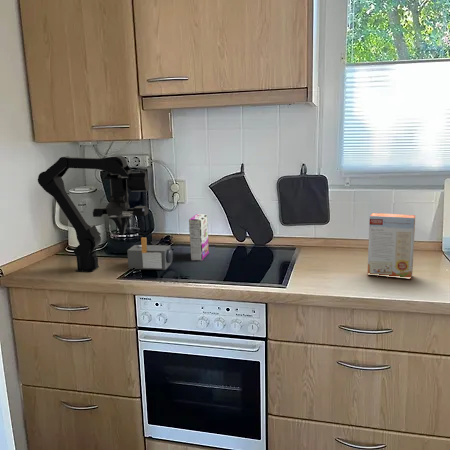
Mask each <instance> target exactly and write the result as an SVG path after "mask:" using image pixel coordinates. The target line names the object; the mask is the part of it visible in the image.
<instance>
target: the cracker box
mask: <svg viewBox="0 0 450 450" xmlns="http://www.w3.org/2000/svg"><path fill="white" fill-rule="evenodd" d="M415 226H416V215H415V214H401V213H399V214H398V213H380V212H379V213H376V212H375V213H373V212H372V213H371V214H370V215H369V225H368V249H367V274H368V273H370V274H379V275H389V276H400V277H412V278H413V270H414V268H413V267H414V253H415V251H414V250H415V249H414V248H415V234H416V233H415V231H416V227H415Z"/></svg>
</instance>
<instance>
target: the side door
mask: <svg viewBox="0 0 450 450" xmlns="http://www.w3.org/2000/svg"><path fill="white" fill-rule="evenodd" d="M140 245H141V247H142V258H143V268H159V269H162V252H147V245H148V243H147V237H143V236H142V237H140Z"/></svg>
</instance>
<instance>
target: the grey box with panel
mask: <svg viewBox="0 0 450 450" xmlns="http://www.w3.org/2000/svg"><path fill="white" fill-rule="evenodd" d="M126 251H127V264H128V265H127V267H128V268H129V270H163V271H165V270H167V269H168V268H169V267H170V266H171V265H172V263H173V259H174V253H173V249H171V245H163V244H162V245H159V244H158V245H157V244H155V245H150V244H147V252H162V269H159V268H143V258H142V247H141V244H134V245H132V246H131V247H130V248H128V249H126ZM133 268H135V269H133Z"/></svg>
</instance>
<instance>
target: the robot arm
mask: <svg viewBox="0 0 450 450" xmlns="http://www.w3.org/2000/svg"><path fill="white" fill-rule="evenodd" d="M69 169H81V170H82V169H83V170H84V169H85V170H86V169H87V170H100V171H103V172H107V173H106V175H105V176H104V177H103V180H109V183H110V185H109V187H110V196H109V202H108V203H107V205H106V206H98V207H95V208H94V209H93V210H92V216H93V217H94V218H96V217H97V218H101V217H103V216H104V215H107V216H108V219H109V220H112V221H113V222H114V223H115V226H116V227H117V230H118V231H119V234H120V235H121V236H124V235H125V233H126V230H127V227H128V223H129V221H130V219H131V218H132V217H134V216H135V217H146V216H147V215H148V214H149V207H148V206H146V205H137V206H134V207H133V208H130V207H131V206H130V204H129V197H130V195H129V194H130V193H128V190H130V192H148V191H149V189H150V181H149V178H148V175H147V171H141V172H139V171H138V172H134V171H133V170H132V168H131V167H130V166H129V165H128V161H127V159H126V158H125V157H124V156H123V155H114V156H108V157H99V158H98V157H80V156H79V157H75V156H74V157H71V156H68V155H67V156H62V157H59V158H58V160H56V161H55V162H54V163H53V164H52V165H51V166H49V167H48V168H47V169H46V170H45V171H42V172H40V173H39V174H38V176H37V183H38V184H39V186H40V187H41V188H42V189H43V190H44V191H45V192H46V193H47V194H49V195H50V196H52V197H53V198H54V200H55V202H56V203H57V204H58V206H59V207H60V209H61V211H62V212H63V214H64V216H65V217H66V219H67V220H68V222H69V223H70V225H71V226H72V227H73V229H74V231H75V236H76V240H77V242H78V245H77V246H76V247H75V249H74V250H73V253H74V256H75V257H76V267H77V268H76V269H75V272H86V273H87V272H94V271H96V270H97V269H99V267H100V266H99V259H98V258H99V257H98V256H97V252H96V251H97V248H98V246H100V244H101V243H102V238H101V235H102V234H101V232H100V231H99V230H98V229H97V226H96V225H95V224H93V225H92V226H91V225H89V224H88V223H87V222H86V220H85V218H84V217H83V216H82V214H81V212H80V211H79V209H78V208H77V206H76V205H75V203H74V201H73V200H72V198H71V197H70V196H69V194H68V192H67V191H66V188H65V187H66V186H65V182H64V180H63V177H64V176H65V174H66V173H67V172H68V170H69Z"/></svg>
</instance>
